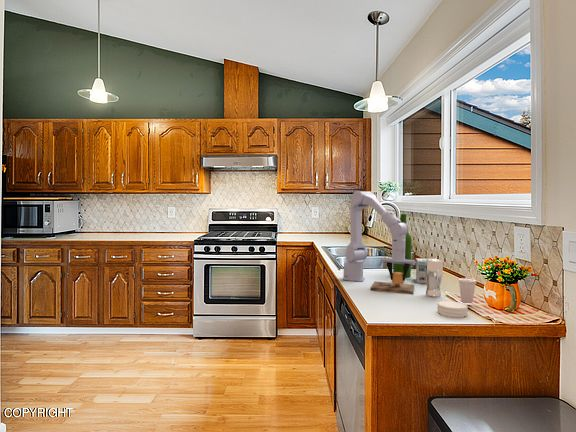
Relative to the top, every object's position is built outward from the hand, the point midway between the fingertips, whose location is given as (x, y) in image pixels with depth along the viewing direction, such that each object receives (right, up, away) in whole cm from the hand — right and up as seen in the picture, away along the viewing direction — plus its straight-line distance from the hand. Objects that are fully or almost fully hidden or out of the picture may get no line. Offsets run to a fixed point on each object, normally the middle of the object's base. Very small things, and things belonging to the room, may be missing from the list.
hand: (397, 279), depth 179 cm
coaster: (+9, -6, -37) cm, 39 cm away
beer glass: (+12, -5, -10) cm, 17 cm away
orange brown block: (0, -1, 0) cm, 1 cm away
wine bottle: (+10, -3, +30) cm, 32 cm away
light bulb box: (+18, -4, +18) cm, 26 cm away
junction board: (-2, -4, +1) cm, 5 cm away
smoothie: (+20, -6, -25) cm, 32 cm away
